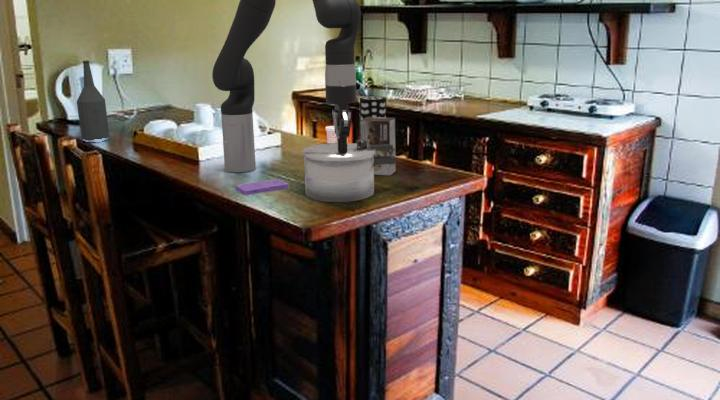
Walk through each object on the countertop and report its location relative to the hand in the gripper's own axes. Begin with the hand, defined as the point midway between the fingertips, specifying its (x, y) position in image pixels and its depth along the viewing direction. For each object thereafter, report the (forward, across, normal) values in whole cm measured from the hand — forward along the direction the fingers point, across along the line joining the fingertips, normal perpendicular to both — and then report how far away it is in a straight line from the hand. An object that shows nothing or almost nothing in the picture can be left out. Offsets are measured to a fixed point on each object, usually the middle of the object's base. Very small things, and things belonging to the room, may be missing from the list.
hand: (342, 152), depth 157 cm
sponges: (+12, -13, -20) cm, 27 cm away
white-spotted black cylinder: (+11, -40, +17) cm, 45 cm away
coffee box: (+12, -24, +15) cm, 30 cm away
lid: (+1, -4, +2) cm, 5 cm away
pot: (+12, -5, +3) cm, 13 cm away
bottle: (+10, -100, -78) cm, 127 cm away
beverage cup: (+11, -54, +7) cm, 55 cm away
